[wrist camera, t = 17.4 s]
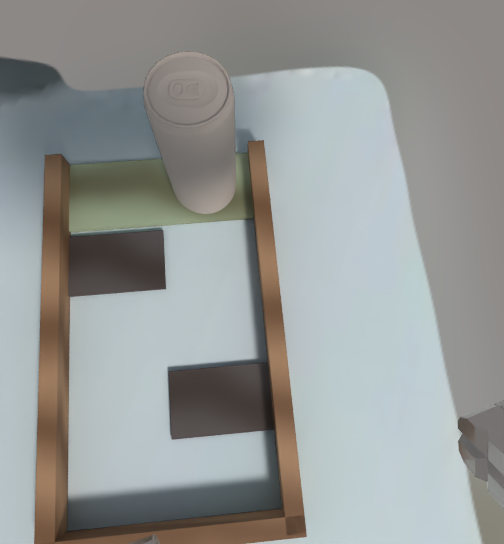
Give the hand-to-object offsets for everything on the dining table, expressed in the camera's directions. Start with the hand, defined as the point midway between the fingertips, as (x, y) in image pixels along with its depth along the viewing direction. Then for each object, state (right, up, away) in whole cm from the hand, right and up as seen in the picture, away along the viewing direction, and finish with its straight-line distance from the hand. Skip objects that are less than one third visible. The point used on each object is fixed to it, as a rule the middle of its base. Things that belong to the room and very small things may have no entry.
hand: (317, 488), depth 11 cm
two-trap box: (-8, +2, +21) cm, 22 cm away
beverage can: (-5, +12, +23) cm, 27 cm away
